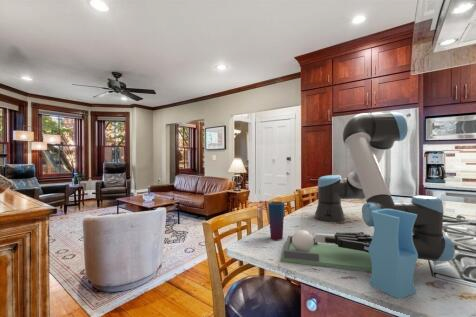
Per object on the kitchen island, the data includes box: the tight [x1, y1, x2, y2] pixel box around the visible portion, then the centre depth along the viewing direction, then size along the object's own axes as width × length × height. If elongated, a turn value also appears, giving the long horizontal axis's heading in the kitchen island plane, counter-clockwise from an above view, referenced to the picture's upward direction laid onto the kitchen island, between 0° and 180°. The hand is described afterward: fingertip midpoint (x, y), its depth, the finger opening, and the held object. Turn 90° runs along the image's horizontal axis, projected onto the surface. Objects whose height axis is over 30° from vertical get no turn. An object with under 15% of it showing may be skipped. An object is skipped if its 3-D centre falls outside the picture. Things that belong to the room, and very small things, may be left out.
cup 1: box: [267, 201, 285, 241], centre depth 100 cm, size 7×7×15 cm
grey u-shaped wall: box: [284, 235, 319, 261], centre depth 85 cm, size 11×15×2 cm
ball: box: [292, 229, 314, 252], centre depth 83 cm, size 8×8×8 cm
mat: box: [280, 240, 372, 273], centre depth 82 cm, size 34×16×1 cm, turn 73°
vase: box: [368, 209, 419, 300], centre depth 62 cm, size 8×8×20 cm
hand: (314, 237), depth 83 cm, fingers closed
